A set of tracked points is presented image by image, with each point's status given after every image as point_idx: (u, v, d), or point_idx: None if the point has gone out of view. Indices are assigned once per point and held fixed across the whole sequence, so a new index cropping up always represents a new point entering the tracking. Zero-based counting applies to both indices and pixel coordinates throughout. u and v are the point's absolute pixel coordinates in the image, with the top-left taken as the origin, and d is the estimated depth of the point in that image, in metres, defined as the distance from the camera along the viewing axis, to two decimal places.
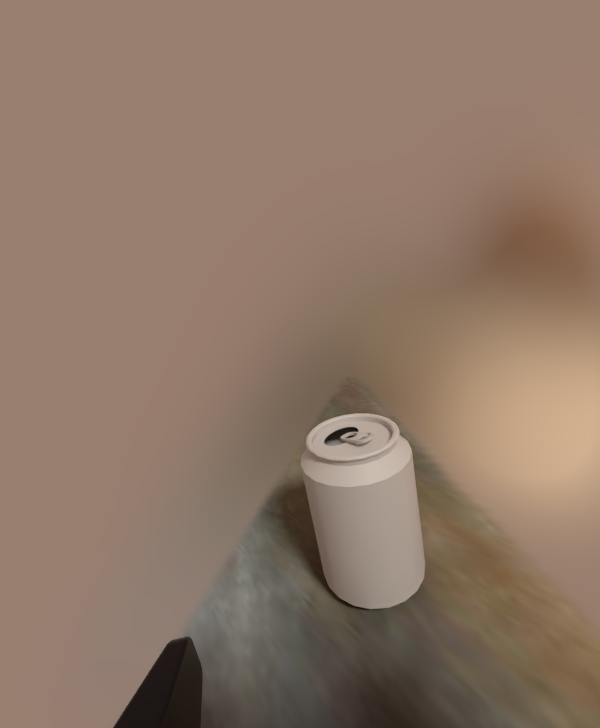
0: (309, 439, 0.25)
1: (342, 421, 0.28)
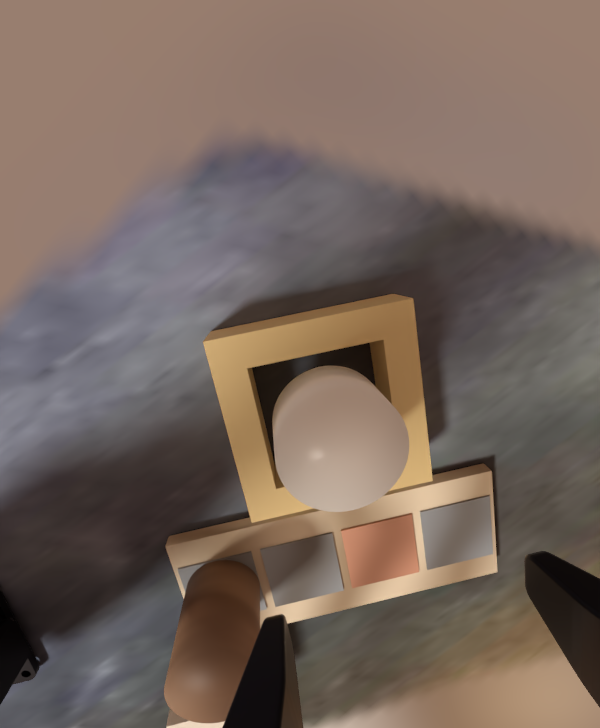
0: None
1: None
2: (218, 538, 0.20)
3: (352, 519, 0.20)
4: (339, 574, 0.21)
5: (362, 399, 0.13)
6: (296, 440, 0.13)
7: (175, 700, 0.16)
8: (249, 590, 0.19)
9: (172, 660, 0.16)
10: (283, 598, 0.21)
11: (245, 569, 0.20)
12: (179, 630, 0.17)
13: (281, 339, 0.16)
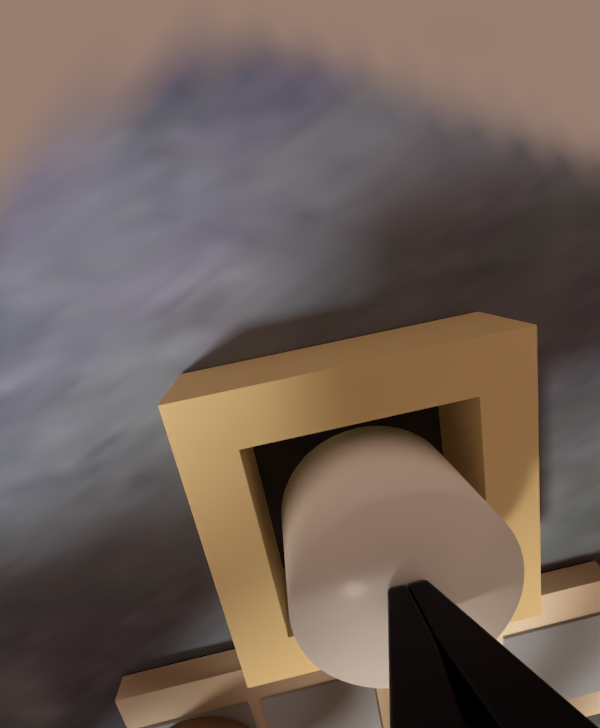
0: None
1: None
2: (197, 686, 0.13)
3: None
4: (379, 724, 0.14)
5: (448, 509, 0.07)
6: (327, 581, 0.07)
7: None
8: None
9: None
10: None
11: None
12: None
13: (301, 398, 0.09)
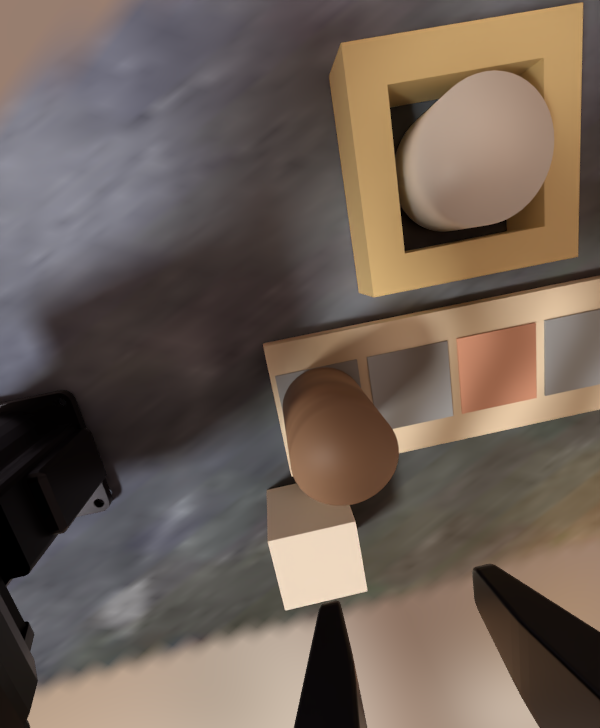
0: None
1: None
2: (322, 339, 0.18)
3: (470, 325, 0.18)
4: (450, 395, 0.19)
5: (513, 86, 0.13)
6: (444, 131, 0.13)
7: (301, 469, 0.14)
8: (362, 390, 0.17)
9: (297, 426, 0.14)
10: None
11: (351, 378, 0.18)
12: (295, 410, 0.15)
13: (430, 46, 0.13)
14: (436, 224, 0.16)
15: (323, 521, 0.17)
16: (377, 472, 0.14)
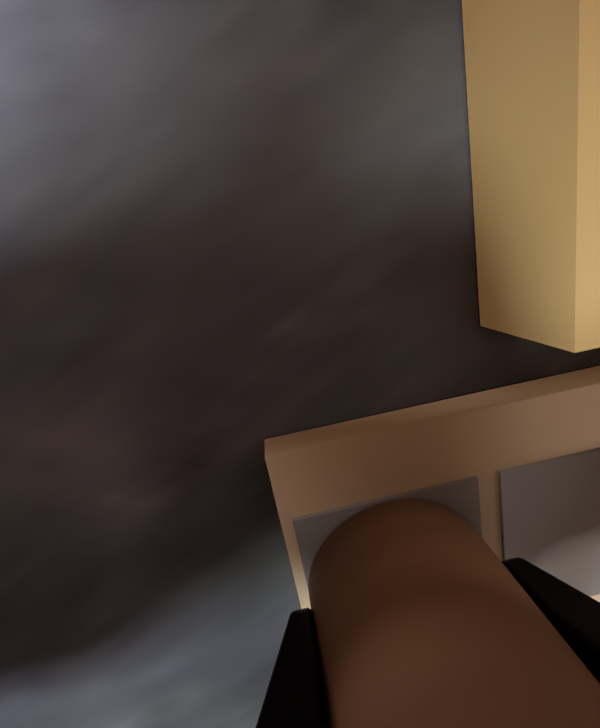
0: None
1: None
2: (401, 438, 0.08)
3: None
4: None
5: None
6: None
7: None
8: (514, 578, 0.07)
9: None
10: None
11: (468, 524, 0.08)
12: (367, 710, 0.05)
13: None
14: None
15: None
16: None
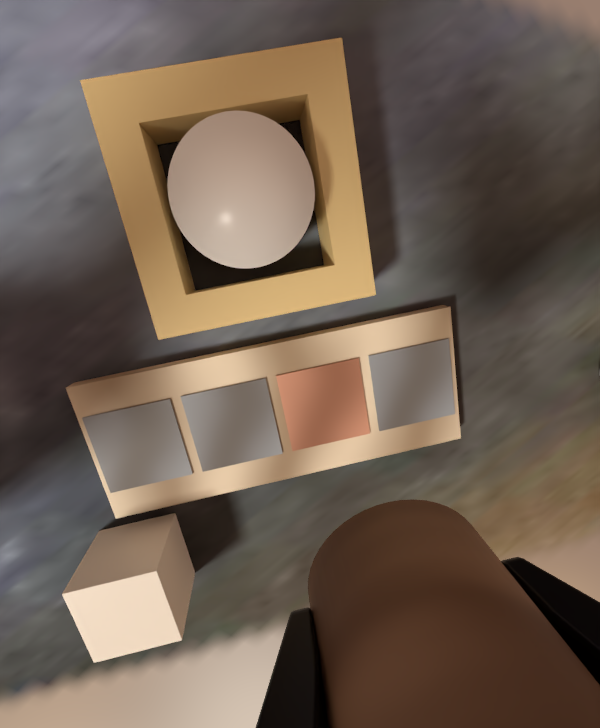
0: None
1: None
2: (129, 379, 0.17)
3: (289, 362, 0.18)
4: (277, 432, 0.18)
5: (258, 126, 0.12)
6: (190, 173, 0.13)
7: None
8: None
9: None
10: (211, 461, 0.18)
11: (469, 525, 0.08)
12: (366, 713, 0.05)
13: (180, 83, 0.13)
14: None
15: (127, 570, 0.16)
16: None
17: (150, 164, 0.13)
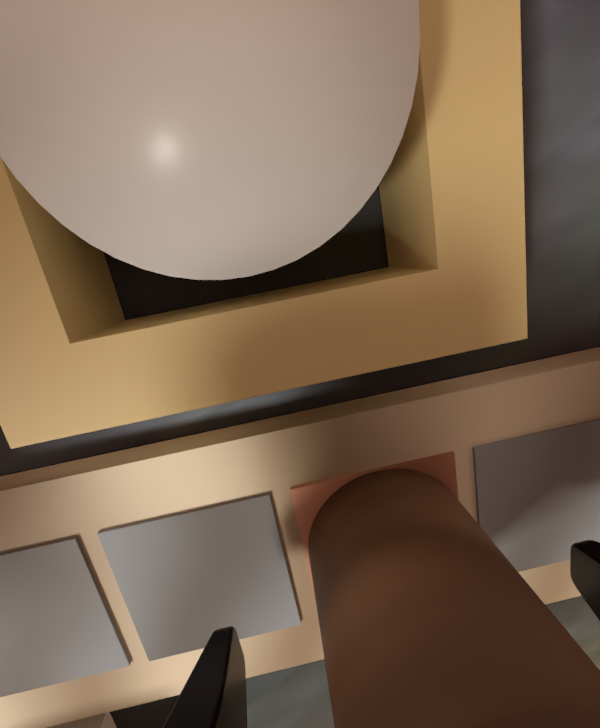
0: None
1: None
2: None
3: (316, 463, 0.09)
4: (291, 588, 0.10)
5: None
6: None
7: None
8: None
9: (372, 722, 0.05)
10: (166, 641, 0.10)
11: (449, 491, 0.09)
12: (352, 623, 0.06)
13: None
14: None
15: None
16: None
17: None
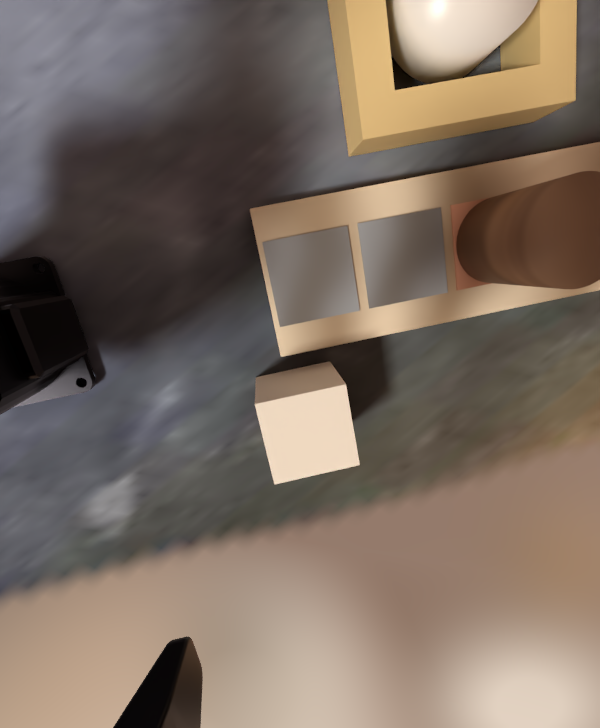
0: None
1: None
2: (310, 202, 0.17)
3: (464, 191, 0.18)
4: (444, 269, 0.18)
5: None
6: None
7: (536, 242, 0.13)
8: None
9: (529, 202, 0.14)
10: (378, 298, 0.18)
11: None
12: (507, 205, 0.15)
13: None
14: (427, 63, 0.15)
15: (313, 387, 0.17)
16: None
17: None
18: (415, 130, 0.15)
